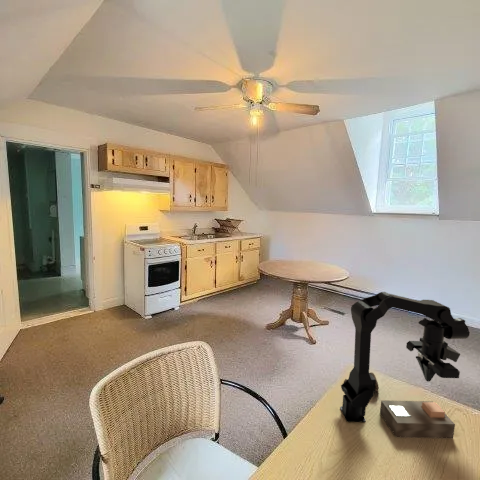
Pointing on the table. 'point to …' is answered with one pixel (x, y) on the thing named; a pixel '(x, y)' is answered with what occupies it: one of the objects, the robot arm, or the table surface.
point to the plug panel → (416, 421)
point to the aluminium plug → (399, 411)
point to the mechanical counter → (375, 384)
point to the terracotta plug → (433, 410)
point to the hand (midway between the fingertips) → (427, 380)
